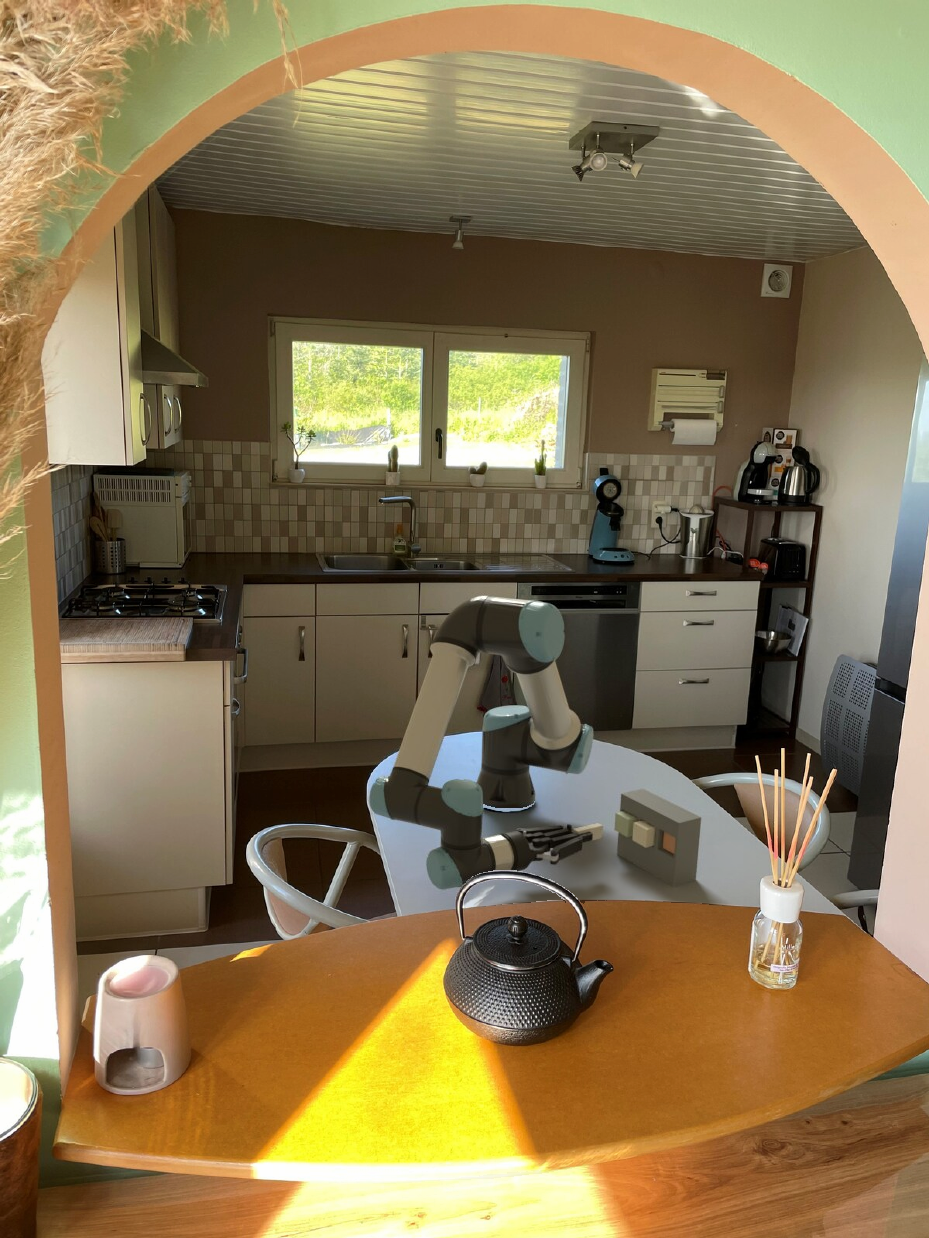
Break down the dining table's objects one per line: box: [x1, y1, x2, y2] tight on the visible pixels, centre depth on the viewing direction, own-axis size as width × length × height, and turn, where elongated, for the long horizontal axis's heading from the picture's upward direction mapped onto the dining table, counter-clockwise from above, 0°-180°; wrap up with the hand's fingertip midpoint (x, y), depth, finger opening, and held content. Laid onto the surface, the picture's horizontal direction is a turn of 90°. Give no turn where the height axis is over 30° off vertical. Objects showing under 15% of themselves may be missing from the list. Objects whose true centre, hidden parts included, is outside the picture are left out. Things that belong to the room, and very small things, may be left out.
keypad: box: [616, 788, 702, 887], centre depth 191 cm, size 17×6×14 cm, turn 31°
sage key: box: [613, 811, 637, 837], centre depth 193 cm, size 4×4×4 cm
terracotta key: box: [663, 832, 675, 854], centre depth 186 cm, size 4×4×4 cm
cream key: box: [632, 820, 656, 848], centre depth 189 cm, size 4×4×4 cm
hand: (600, 830), depth 189 cm, fingers closed
